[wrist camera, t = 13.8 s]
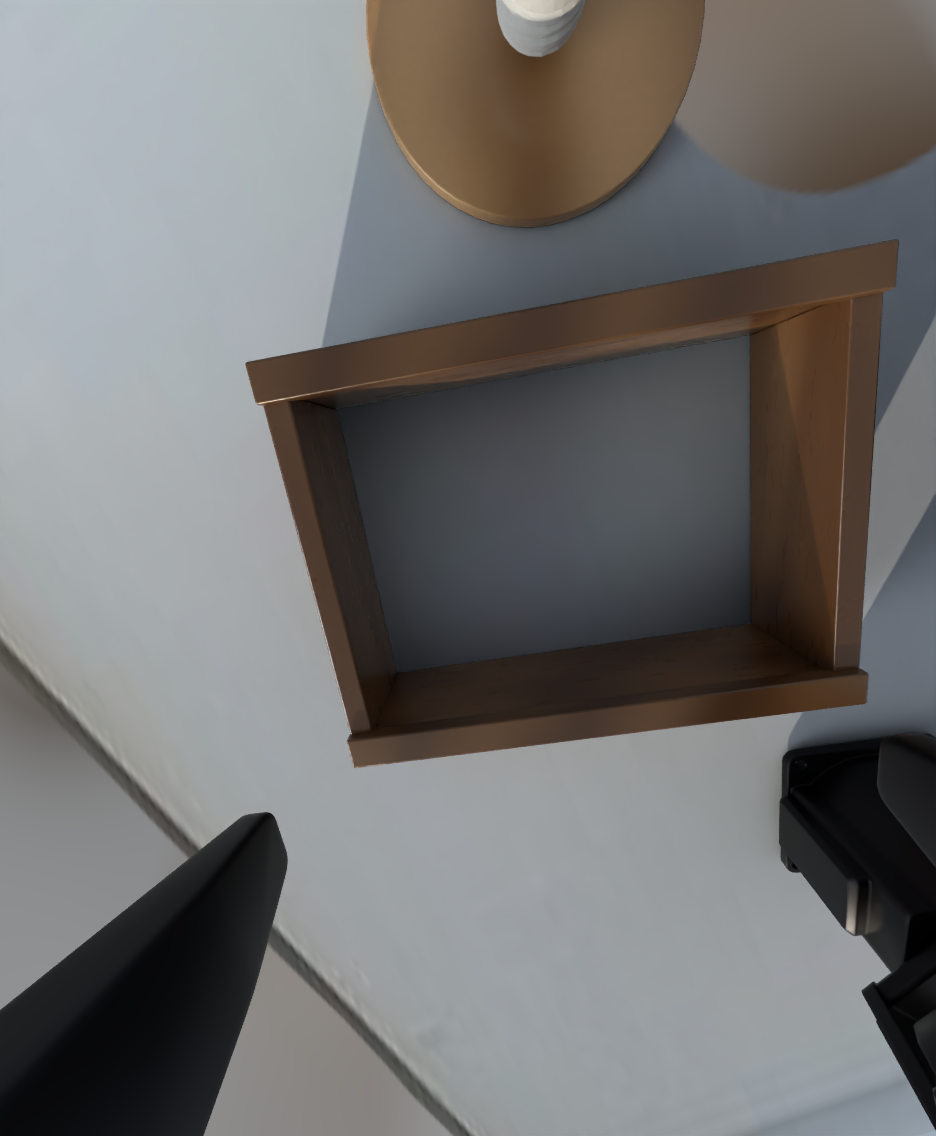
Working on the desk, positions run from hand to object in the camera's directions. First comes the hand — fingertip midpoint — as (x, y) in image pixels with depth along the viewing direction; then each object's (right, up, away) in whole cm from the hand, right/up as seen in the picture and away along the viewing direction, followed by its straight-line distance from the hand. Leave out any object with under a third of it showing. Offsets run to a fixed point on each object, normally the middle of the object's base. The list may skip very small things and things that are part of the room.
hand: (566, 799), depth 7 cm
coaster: (0, +20, +7) cm, 21 cm away
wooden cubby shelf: (+2, +5, +11) cm, 12 cm away
